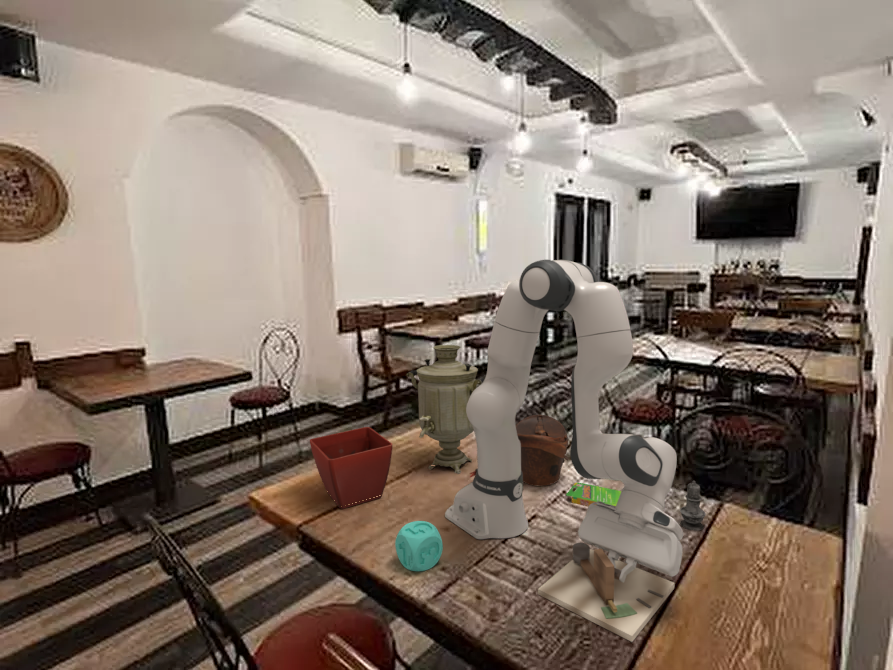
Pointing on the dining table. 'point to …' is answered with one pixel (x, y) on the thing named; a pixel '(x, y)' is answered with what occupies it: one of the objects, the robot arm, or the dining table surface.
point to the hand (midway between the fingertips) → (615, 579)
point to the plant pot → (353, 465)
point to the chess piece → (692, 509)
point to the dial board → (630, 597)
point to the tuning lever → (597, 571)
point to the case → (541, 449)
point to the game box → (593, 494)
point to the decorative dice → (418, 545)
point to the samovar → (446, 403)
